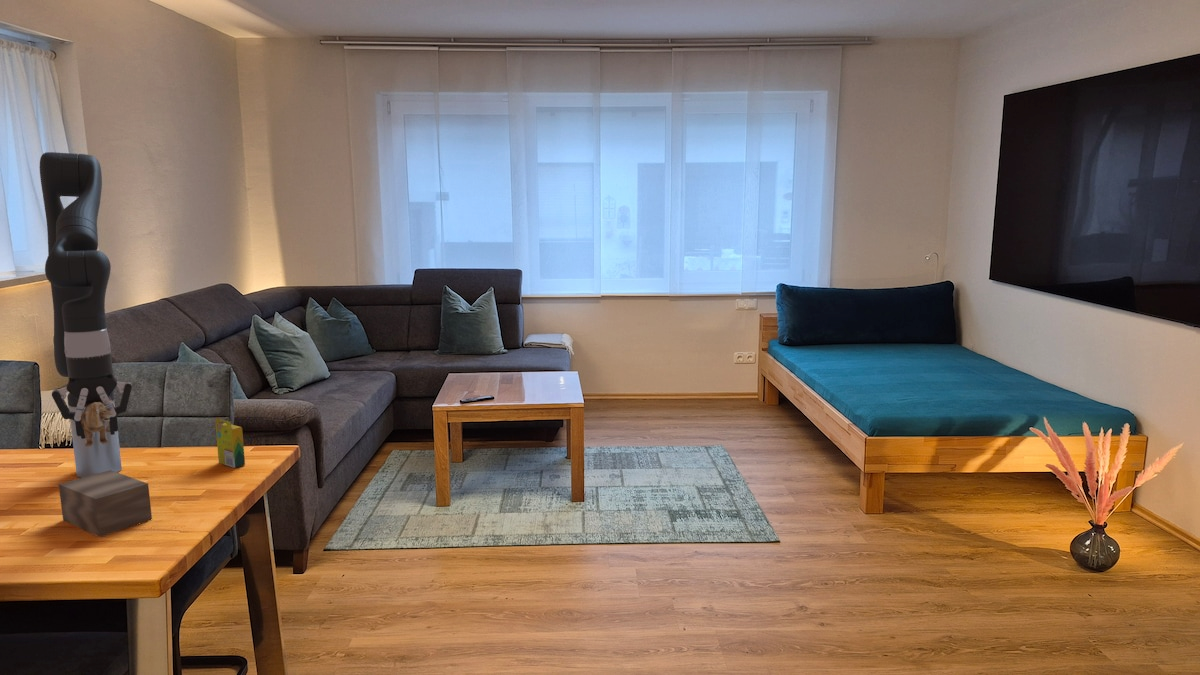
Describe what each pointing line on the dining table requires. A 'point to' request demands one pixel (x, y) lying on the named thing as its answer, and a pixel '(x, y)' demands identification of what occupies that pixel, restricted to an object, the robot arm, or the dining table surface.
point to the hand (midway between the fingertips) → (98, 435)
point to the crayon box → (229, 444)
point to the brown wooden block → (105, 502)
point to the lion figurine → (95, 422)
